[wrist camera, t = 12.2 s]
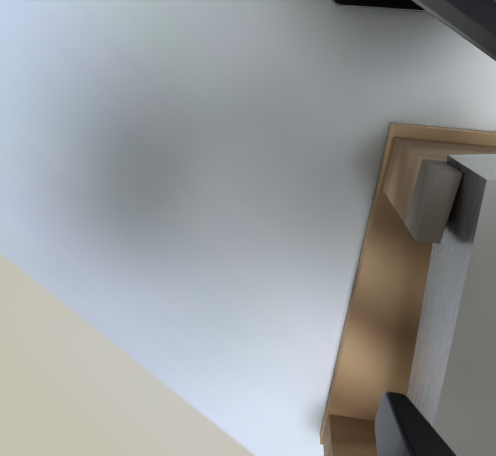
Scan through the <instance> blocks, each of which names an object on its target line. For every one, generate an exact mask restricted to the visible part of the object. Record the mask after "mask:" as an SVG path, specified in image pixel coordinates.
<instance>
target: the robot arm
mask: <svg viewBox="0 0 496 456" xmlns="http://www.w3.org/2000/svg"><path fill="white" fill-rule="evenodd" d="M332 1H333V2H334V3H335V4H336V5H339V6H347V7H362V8H376V9H391V10H405V11H420V12H429V13H430V14H431V15H433V16H434V17H436V18H437V19H438V20H440V21H441V22H443V23H444V24H445V25H447V26H448V27H449V28H451V29H452V30H454V31H455V32H456V33H458V34H459V35H461V36H462V37H463V38H465V39H466V40H468V41H469V42H470V43H472V44H473V45H474V46H476V47H477V48H479V49H480V50H481V51H483V52H484V53H486V54H487V55H488V56H490V57H491V58H492V59H494V60H495V61H496V0H332ZM375 434H376V445H377V455H378V456H457V455H456V454H455V453H454V452H453V451H452V449H451V448H450V447H449V446H448V445H447V444H446V442H445V441H444V440H443V439H442V438H441V436H440V435H439V434H438V433H437V432H436V430H435V429H434V428H433V427H432V426H431V424H430V423H429V422H428V421H427V420H426V419H425V417H424V416H423V415H422V414H421V413H420V411H419V410H418V409H417V408H416V407H415V405H414V404H413V403H412V402H411V401H410V399H409V398H408V397H407V396H406V395H404V394H402V393H396V392H389V391H386V392H384V394H383V396H382V399H381V402H380V405H379V408H378V411H377V415H376V418H375Z"/></svg>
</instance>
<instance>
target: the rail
mask: <svg viewBox="0 0 496 456" xmlns="http://www.w3.org/2000/svg"><path fill="white" fill-rule="evenodd" d="M446 162H448V163H449V164H451V165H452V166H453V167H455V168H456V169H458V170H459V171H461V172H462V173H463V174H462V177H461V180H460V183H459V186H458V190H457V193H456V196H455V199H454V202H453V205H452V208H451V211H450V214H449V217H448V220H447V223H446V226H445V230H444V233H443V236H442V239H441V242H440V244H436V243H433V244H432V250H431V256H430V262H429V268H428V274H427V280H426V286H425V292H424V297H423V303H422V309H421V315H420V321H419V327H418V333H417V339H416V345H415V351H414V357H413V363H412V369H411V375H410V381H409V387H408V392H407V397H408V398H409V399H410V401H411V402H412V403H413V404H414V405H415V407H416V408H417V409H418V410H419V411H420V413H421V414H422V415H423V416H424V417H425V419H426V420H427V421H428V422H429V423H430V424H431V426H432V427H433V428H434V429H435V430H436V432H437V433H438V434H439V435H440V436H441V438H442V439H443V440H444V441H445V442H446V444H447V445H448V446H449V447H450V448H451V449H452V451H453V452H454V453H455V454H456V455H457V456H496V154H466V155H447V161H446Z"/></svg>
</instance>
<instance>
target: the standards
mask: <svg viewBox="0 0 496 456" xmlns="http://www.w3.org/2000/svg"><path fill="white" fill-rule="evenodd" d="M466 154H496V132H487V131H477V130H466V129H455V128H445V127H434V126H423V125H412V124H402V123H391V125H390V129H389V134H388V138H387V142H386V147H385V151H384V155H383V160H382V164H381V169H380V173H379V177H378V182H377V186H376V190H375V195H374V199H373V204H372V208H371V212H370V217H369V221H368V225H367V230H366V234H365V239H364V243H363V247H362V252H361V256H360V260H359V265H358V269H357V274H356V278H355V282H354V287H353V291H352V295H351V300H350V304H349V309H348V313H347V317H346V322H345V326H344V330H343V335H342V339H341V344H340V348H339V352H338V357H337V361H336V365H335V370H334V374H333V379H332V383H331V387H330V392H329V396H328V400H327V405H326V409H325V414H324V418H323V422H322V427H321V431H320V444H323V445H324V456H378V455H377V445H376V434H375V418H376V415H377V411H378V408H379V405H380V402H381V399H382V396H383V394H384V392H386V391H389V392H396V393H402V394H404V395H406V396H407V392H408V387H409V381H410V375H411V369H412V363H413V357H414V351H415V345H416V339H417V333H418V327H419V321H420V315H421V309H422V303H423V297H424V292H425V286H426V280H427V274H428V268H429V262H430V256H431V250H432V244H433V243H436V244H440V242H441V239H442V236H443V233H444V230H445V226H446V223H447V220H448V217H449V214H450V211H451V208H452V205H453V202H454V199H455V196H456V193H457V190H458V186H459V183H460V180H461V177H462V174H463V173H462V172H461V171H459V170H458V169H456V168H455V167H453V166H452V165H451V164H449V163H448V162H446V161H447V155H466Z"/></svg>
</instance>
